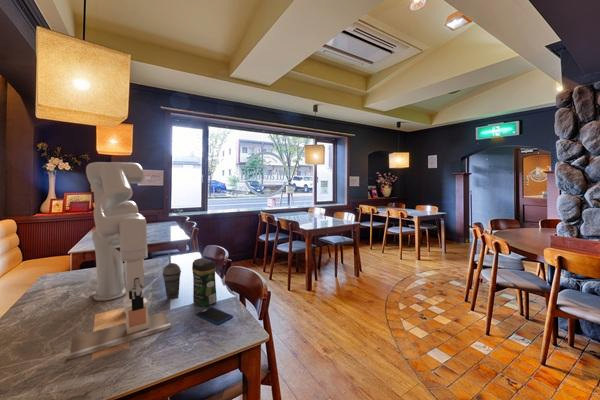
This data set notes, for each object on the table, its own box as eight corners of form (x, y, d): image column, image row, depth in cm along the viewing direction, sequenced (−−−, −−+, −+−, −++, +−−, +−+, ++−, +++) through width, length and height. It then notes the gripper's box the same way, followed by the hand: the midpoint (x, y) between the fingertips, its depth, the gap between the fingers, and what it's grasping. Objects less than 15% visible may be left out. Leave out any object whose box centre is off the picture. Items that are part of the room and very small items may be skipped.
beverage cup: (174, 302, 109) (172, 256, 108) (159, 301, 111) (157, 255, 109) (185, 295, 116) (183, 251, 115) (171, 294, 118) (169, 251, 117)
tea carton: (126, 328, 87) (125, 302, 87) (147, 322, 91) (145, 297, 90) (127, 334, 84) (126, 307, 83) (148, 328, 87) (147, 302, 87)
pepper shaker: (129, 310, 103) (128, 287, 102) (139, 310, 103) (138, 287, 102) (123, 316, 99) (122, 291, 98) (134, 315, 99) (133, 291, 98)
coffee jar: (190, 302, 109) (188, 259, 108) (206, 296, 116) (205, 255, 114) (203, 309, 103) (201, 263, 102) (219, 302, 110) (218, 259, 109)
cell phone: (211, 307, 105) (211, 306, 105) (234, 317, 98) (234, 315, 97) (194, 315, 99) (194, 313, 99) (218, 326, 91) (218, 324, 91)
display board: (69, 364, 72) (68, 356, 72) (73, 341, 82) (72, 334, 82) (171, 331, 88) (171, 324, 88) (163, 316, 98) (163, 309, 98)
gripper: (118, 249, 90) (121, 297, 92) (122, 262, 77) (124, 318, 78) (143, 246, 95) (145, 291, 96) (151, 258, 81) (153, 310, 83)
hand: (136, 303), depth 87 cm, fingers open, 9 cm apart
